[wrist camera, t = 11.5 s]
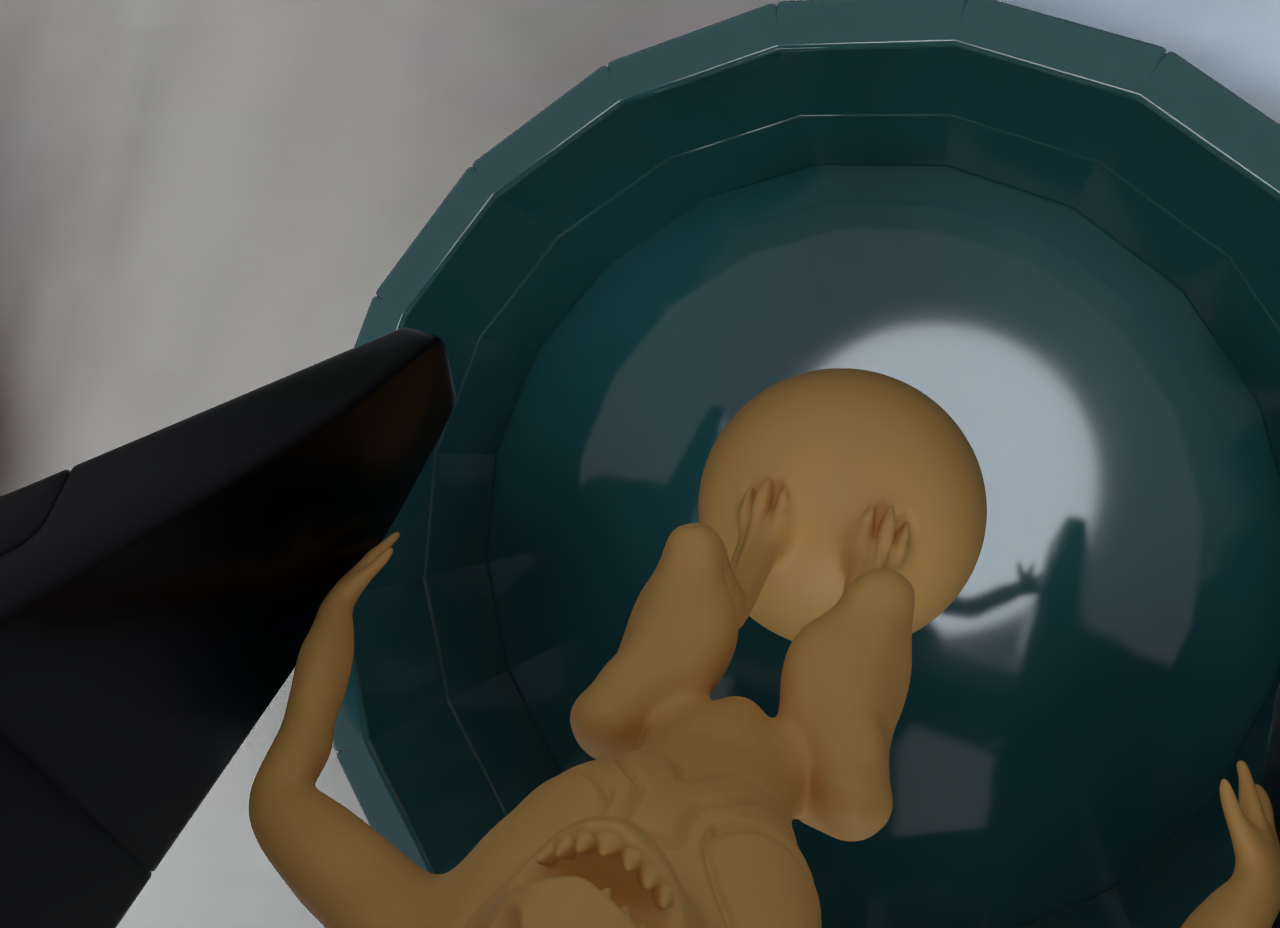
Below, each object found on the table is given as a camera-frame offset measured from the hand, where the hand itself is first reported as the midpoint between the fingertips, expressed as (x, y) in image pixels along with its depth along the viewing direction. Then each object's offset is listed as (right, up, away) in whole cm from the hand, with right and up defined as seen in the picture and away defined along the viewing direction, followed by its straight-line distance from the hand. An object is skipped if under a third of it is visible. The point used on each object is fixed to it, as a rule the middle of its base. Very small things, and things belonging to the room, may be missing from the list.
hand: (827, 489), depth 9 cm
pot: (+2, -1, +7) cm, 7 cm away
